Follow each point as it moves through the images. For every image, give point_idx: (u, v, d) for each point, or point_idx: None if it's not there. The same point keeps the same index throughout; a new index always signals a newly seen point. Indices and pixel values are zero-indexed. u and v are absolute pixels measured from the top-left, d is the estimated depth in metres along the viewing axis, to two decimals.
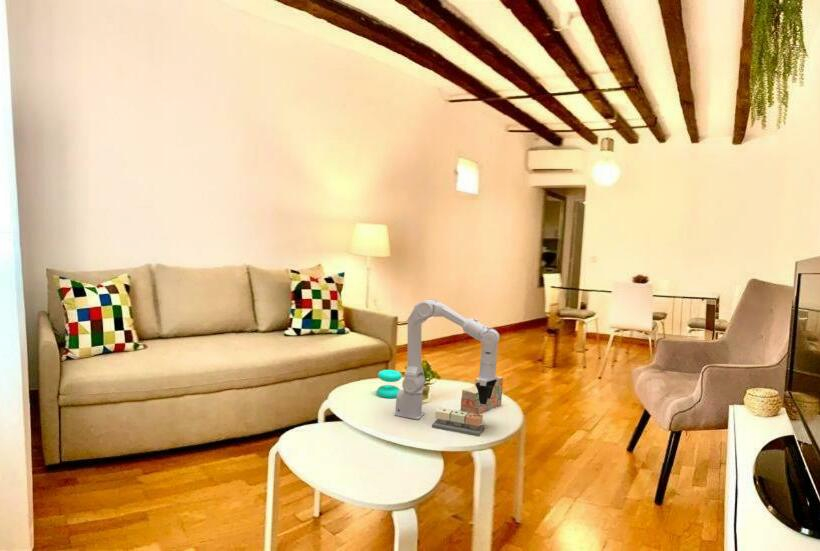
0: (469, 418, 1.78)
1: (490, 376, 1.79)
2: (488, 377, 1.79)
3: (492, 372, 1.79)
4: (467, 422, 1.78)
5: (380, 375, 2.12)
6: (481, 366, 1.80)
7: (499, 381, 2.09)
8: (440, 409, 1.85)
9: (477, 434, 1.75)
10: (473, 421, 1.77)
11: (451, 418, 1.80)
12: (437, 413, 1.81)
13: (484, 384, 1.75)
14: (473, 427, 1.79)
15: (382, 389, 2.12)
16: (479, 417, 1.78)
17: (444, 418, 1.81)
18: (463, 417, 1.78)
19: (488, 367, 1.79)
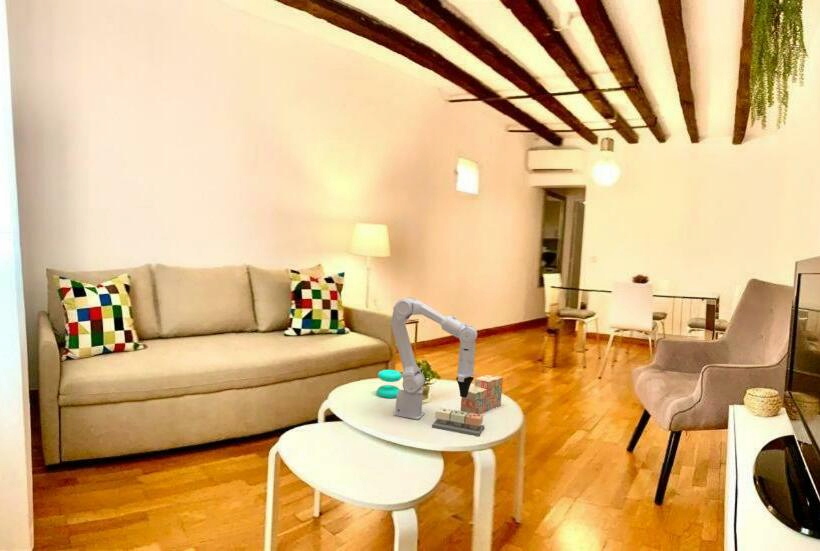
0: (469, 418, 1.78)
1: (468, 372, 1.83)
2: (466, 373, 1.82)
3: (470, 369, 1.83)
4: (467, 422, 1.78)
5: (380, 375, 2.12)
6: (459, 362, 1.84)
7: (499, 381, 2.09)
8: (440, 409, 1.85)
9: (477, 434, 1.75)
10: (473, 421, 1.77)
11: (451, 418, 1.80)
12: (437, 413, 1.81)
13: (462, 380, 1.78)
14: (473, 427, 1.79)
15: (382, 389, 2.12)
16: (479, 417, 1.78)
17: (444, 418, 1.81)
18: (463, 417, 1.78)
19: (466, 363, 1.82)
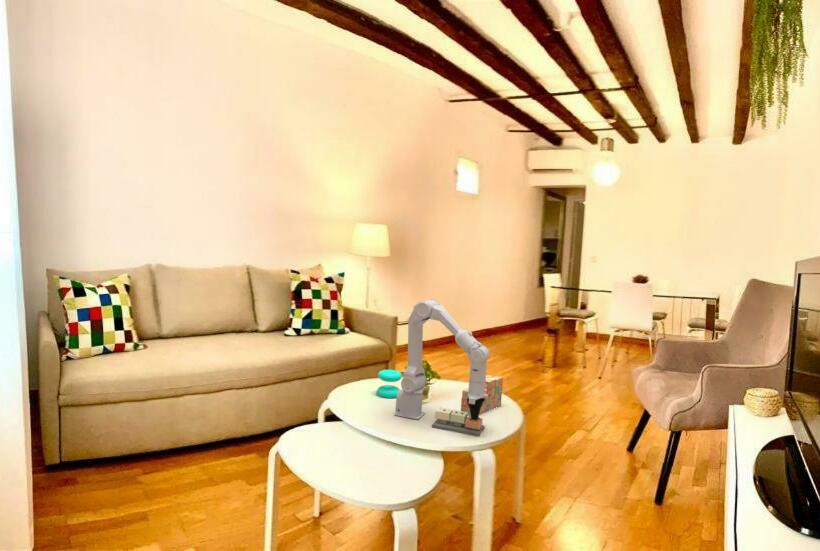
0: (469, 421, 1.78)
1: (479, 394, 1.76)
2: (477, 395, 1.76)
3: (481, 390, 1.76)
4: (467, 425, 1.78)
5: (380, 375, 2.12)
6: (470, 383, 1.78)
7: (499, 381, 2.08)
8: (440, 409, 1.85)
9: (477, 434, 1.75)
10: (473, 424, 1.77)
11: (451, 418, 1.80)
12: (437, 413, 1.81)
13: (473, 402, 1.72)
14: None
15: (382, 389, 2.12)
16: (479, 420, 1.78)
17: (444, 418, 1.81)
18: (463, 417, 1.78)
19: (477, 385, 1.76)
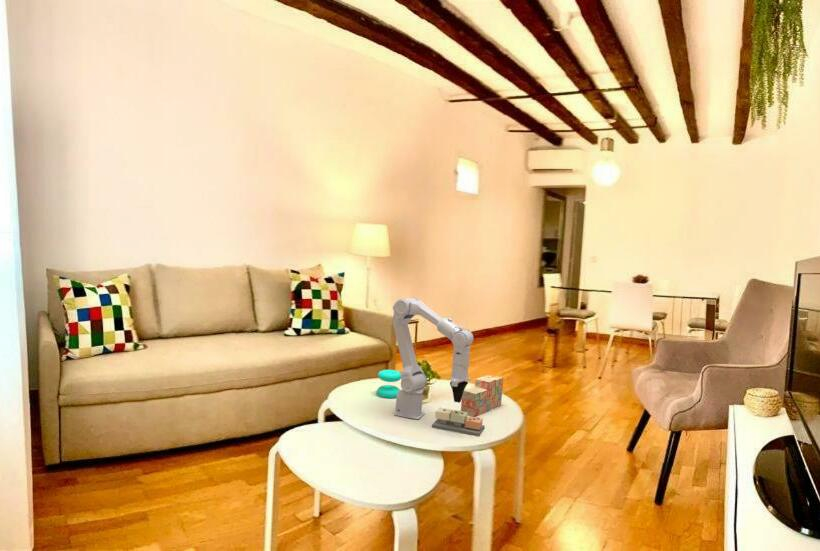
0: (469, 422, 1.78)
1: (462, 377, 1.78)
2: (460, 378, 1.78)
3: (464, 373, 1.78)
4: (467, 426, 1.78)
5: (380, 375, 2.12)
6: (453, 367, 1.80)
7: (499, 381, 2.08)
8: (440, 409, 1.85)
9: (477, 434, 1.75)
10: (473, 425, 1.77)
11: (451, 418, 1.80)
12: (437, 413, 1.81)
13: (455, 385, 1.74)
14: None
15: (382, 389, 2.12)
16: (479, 421, 1.78)
17: (444, 418, 1.81)
18: (463, 417, 1.78)
19: (460, 368, 1.78)
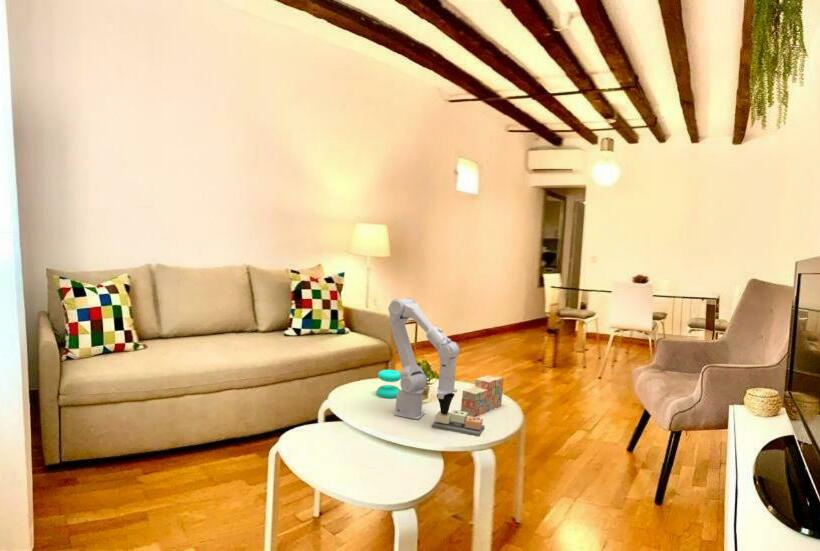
0: (469, 422, 1.78)
1: (448, 389, 1.80)
2: (446, 390, 1.80)
3: (450, 385, 1.80)
4: (467, 426, 1.78)
5: (380, 375, 2.12)
6: (440, 379, 1.81)
7: (499, 381, 2.08)
8: (439, 412, 1.85)
9: (477, 434, 1.75)
10: (473, 425, 1.77)
11: (451, 418, 1.80)
12: (437, 416, 1.82)
13: (441, 397, 1.76)
14: None
15: (382, 389, 2.12)
16: (479, 421, 1.78)
17: (444, 421, 1.81)
18: (463, 417, 1.78)
19: (446, 380, 1.80)
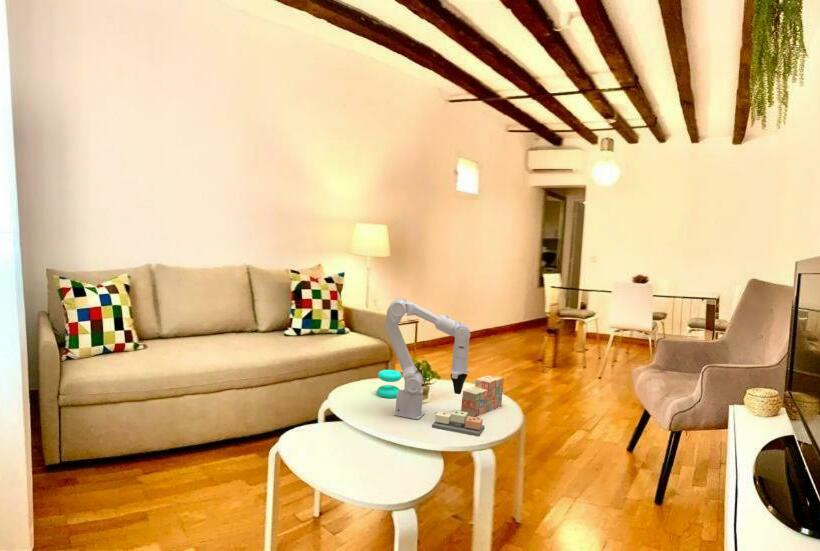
0: (469, 422, 1.78)
1: (462, 369, 1.86)
2: (460, 370, 1.86)
3: (463, 366, 1.86)
4: (467, 426, 1.78)
5: (380, 375, 2.12)
6: (453, 360, 1.88)
7: (499, 382, 2.08)
8: (439, 412, 1.85)
9: (477, 434, 1.75)
10: (473, 425, 1.77)
11: (451, 418, 1.80)
12: (437, 416, 1.82)
13: (455, 377, 1.82)
14: None
15: (382, 389, 2.12)
16: (479, 421, 1.78)
17: (444, 422, 1.81)
18: (463, 417, 1.78)
19: (460, 361, 1.86)
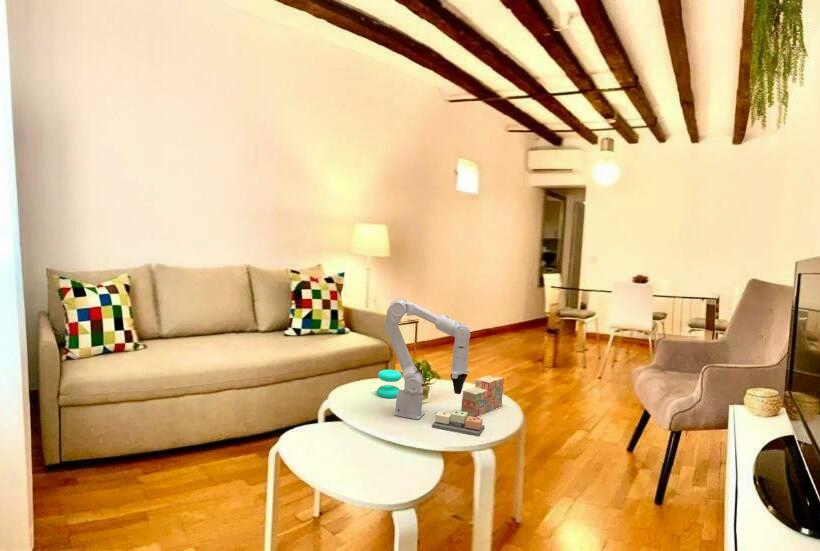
0: (469, 422, 1.78)
1: (462, 369, 1.86)
2: (460, 370, 1.86)
3: (463, 366, 1.86)
4: (467, 426, 1.78)
5: (380, 375, 2.12)
6: (453, 360, 1.88)
7: (500, 382, 2.08)
8: (439, 412, 1.85)
9: (477, 434, 1.75)
10: (473, 425, 1.77)
11: (451, 418, 1.80)
12: (437, 416, 1.82)
13: (455, 377, 1.82)
14: None
15: (382, 389, 2.12)
16: (479, 421, 1.78)
17: (444, 422, 1.81)
18: (463, 417, 1.78)
19: (460, 361, 1.86)
